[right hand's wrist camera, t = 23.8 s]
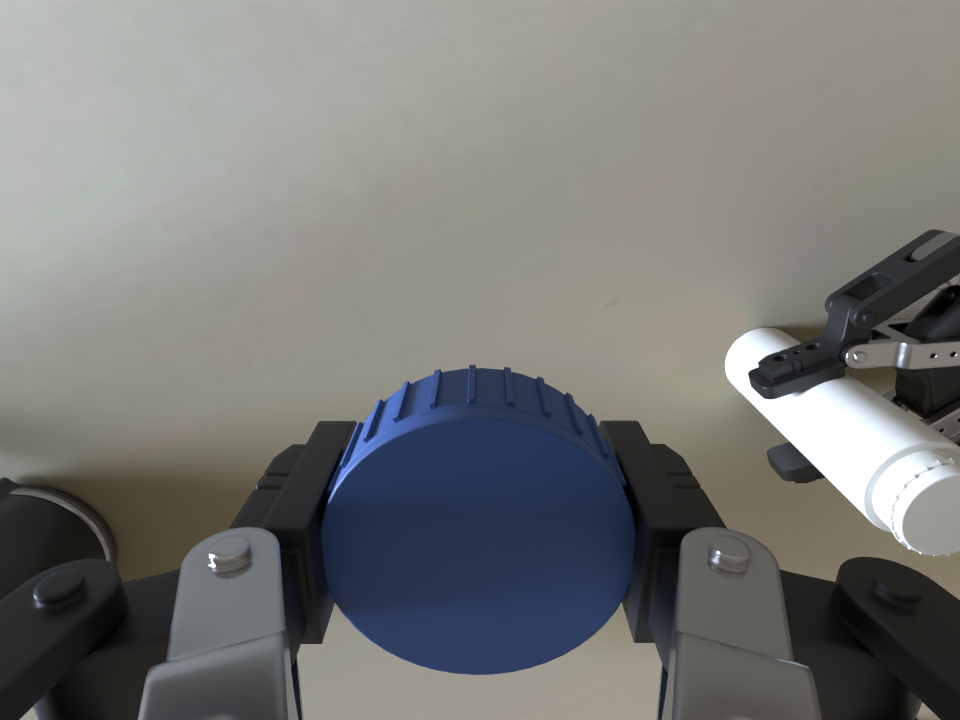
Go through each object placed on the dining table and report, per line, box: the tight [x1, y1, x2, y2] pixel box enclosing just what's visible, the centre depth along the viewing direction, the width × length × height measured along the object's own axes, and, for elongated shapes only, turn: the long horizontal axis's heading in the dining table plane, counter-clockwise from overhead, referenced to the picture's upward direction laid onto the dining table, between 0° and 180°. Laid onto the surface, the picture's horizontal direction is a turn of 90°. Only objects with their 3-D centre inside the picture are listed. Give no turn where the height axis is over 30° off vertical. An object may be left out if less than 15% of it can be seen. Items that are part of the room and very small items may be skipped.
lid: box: [320, 365, 636, 675], centre depth 10 cm, size 5×5×2 cm
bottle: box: [725, 328, 960, 556], centre depth 28 cm, size 4×4×15 cm
